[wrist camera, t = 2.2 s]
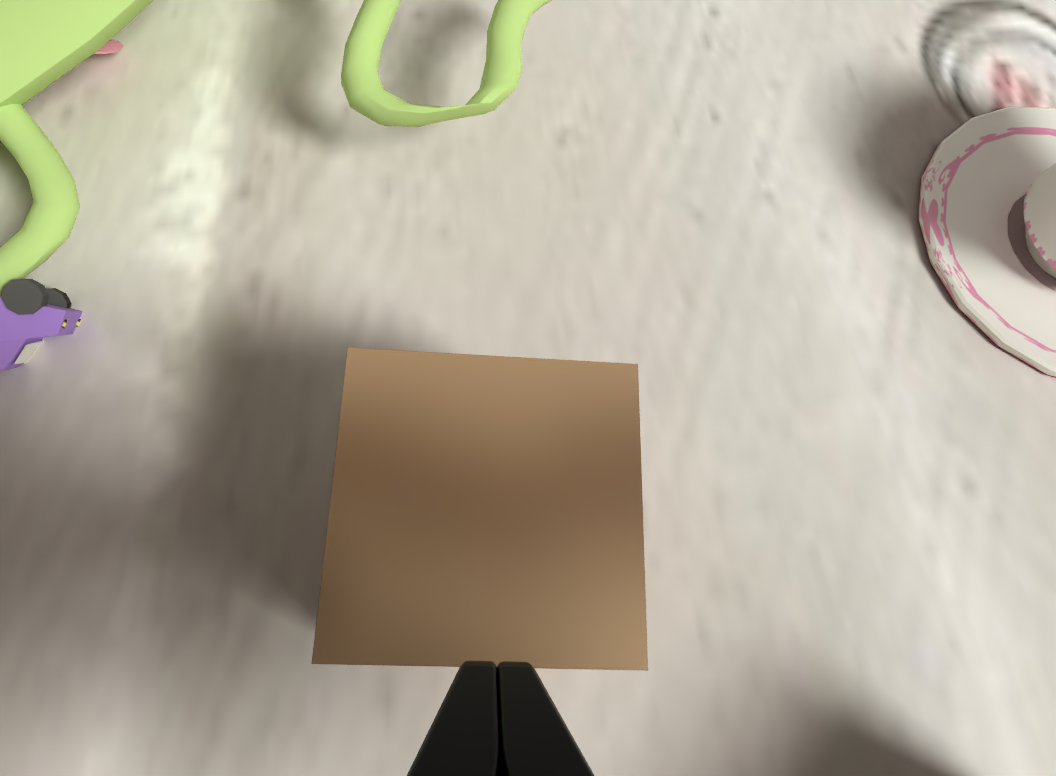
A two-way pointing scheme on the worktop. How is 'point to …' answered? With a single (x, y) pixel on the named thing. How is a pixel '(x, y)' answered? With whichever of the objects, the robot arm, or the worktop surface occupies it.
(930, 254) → the teacup
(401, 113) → the figurine
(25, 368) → the worktop surface
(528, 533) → the plain block
